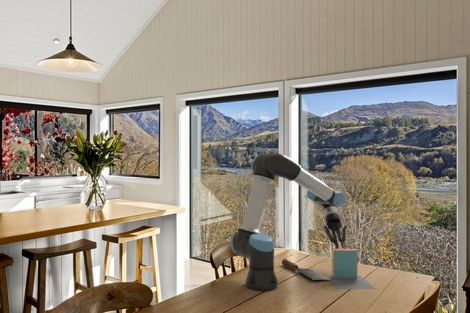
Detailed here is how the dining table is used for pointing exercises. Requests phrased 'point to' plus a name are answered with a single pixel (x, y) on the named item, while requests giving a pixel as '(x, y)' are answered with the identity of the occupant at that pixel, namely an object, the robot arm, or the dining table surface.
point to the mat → (350, 283)
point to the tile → (344, 263)
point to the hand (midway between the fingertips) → (341, 253)
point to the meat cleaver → (305, 271)
